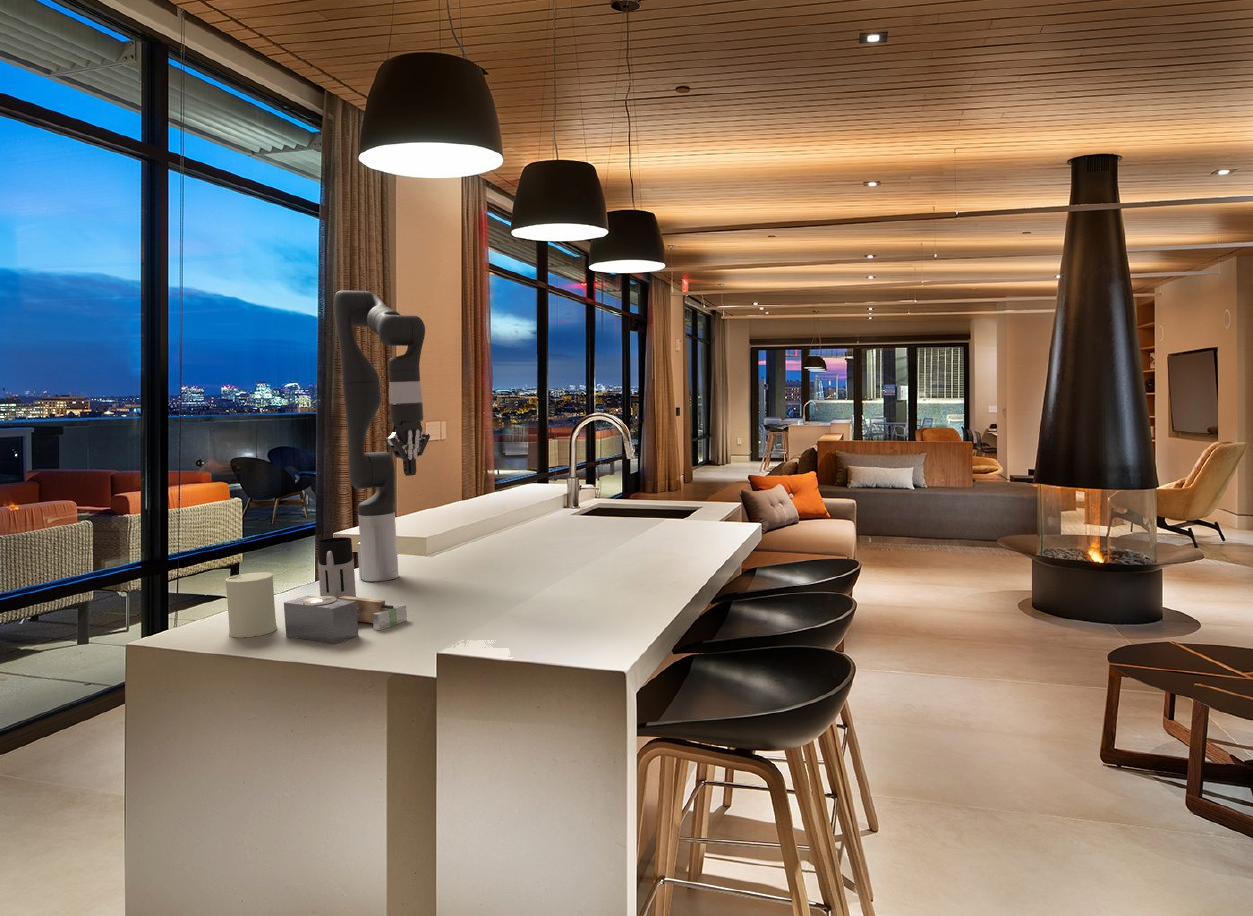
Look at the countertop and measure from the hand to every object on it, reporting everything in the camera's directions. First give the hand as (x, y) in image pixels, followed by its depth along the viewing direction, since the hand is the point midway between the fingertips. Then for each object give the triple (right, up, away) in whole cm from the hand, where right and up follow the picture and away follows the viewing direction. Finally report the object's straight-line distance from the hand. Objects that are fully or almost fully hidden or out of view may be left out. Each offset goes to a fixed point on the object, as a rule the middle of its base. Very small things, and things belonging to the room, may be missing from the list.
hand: (410, 475), depth 201 cm
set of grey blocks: (-7, -31, -24) cm, 40 cm away
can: (-27, -32, -23) cm, 48 cm away
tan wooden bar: (-5, -31, -22) cm, 38 cm away
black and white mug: (-16, -30, -5) cm, 34 cm away
